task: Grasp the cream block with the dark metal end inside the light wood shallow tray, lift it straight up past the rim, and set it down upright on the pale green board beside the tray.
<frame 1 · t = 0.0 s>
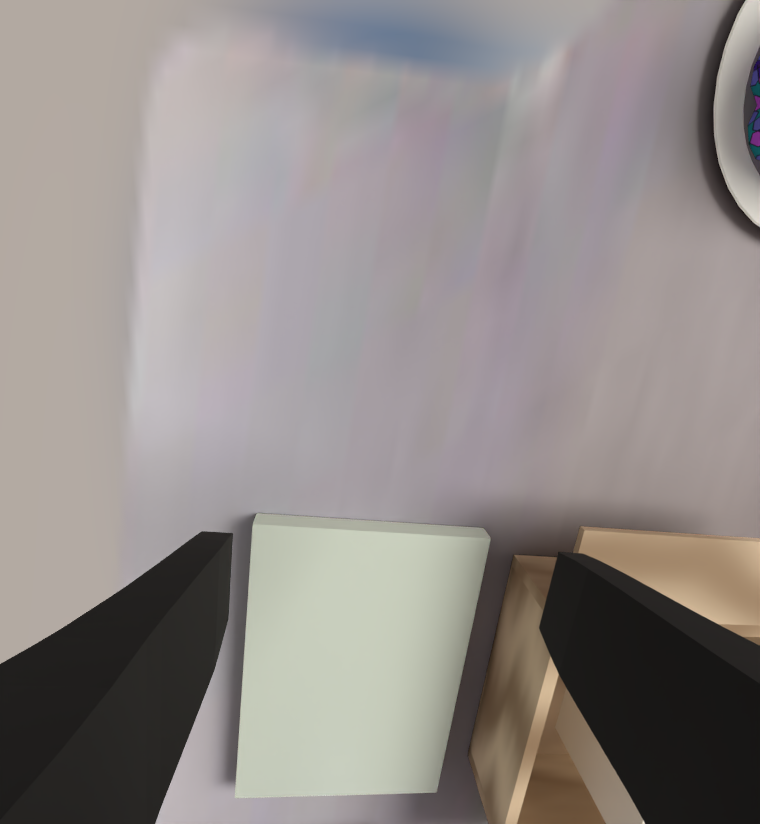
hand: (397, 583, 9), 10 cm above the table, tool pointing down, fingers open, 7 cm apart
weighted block: (604, 670, 23), resting on light wood shallow tray
light wood shallow tray: (598, 663, 23), on the table
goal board: (355, 658, 21), on the table
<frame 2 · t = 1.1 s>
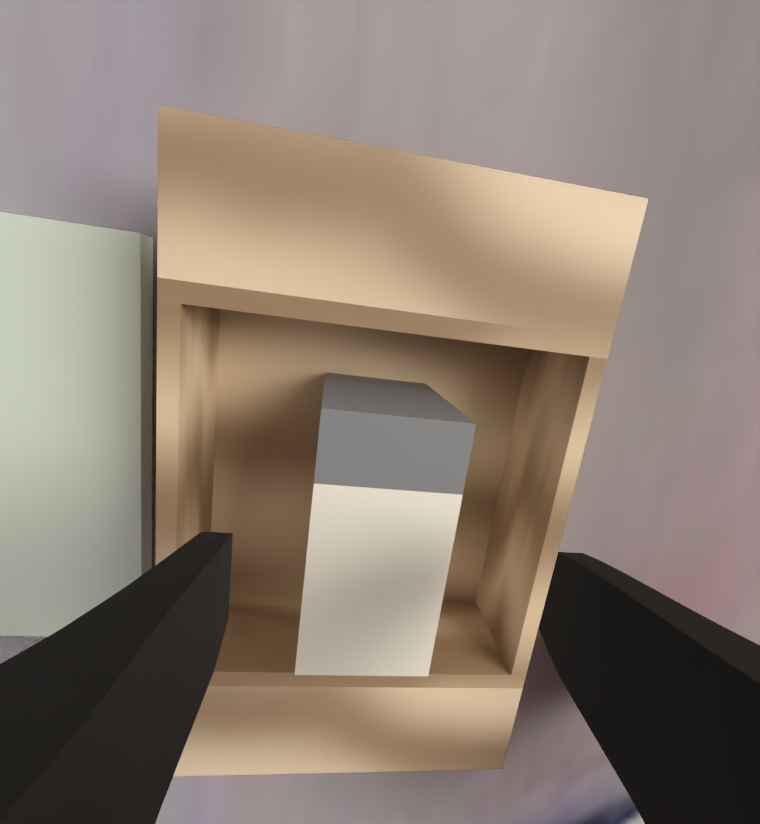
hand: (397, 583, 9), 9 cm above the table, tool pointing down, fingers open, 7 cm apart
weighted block: (364, 472, 17), resting on light wood shallow tray
light wood shallow tray: (363, 468, 18), on the table
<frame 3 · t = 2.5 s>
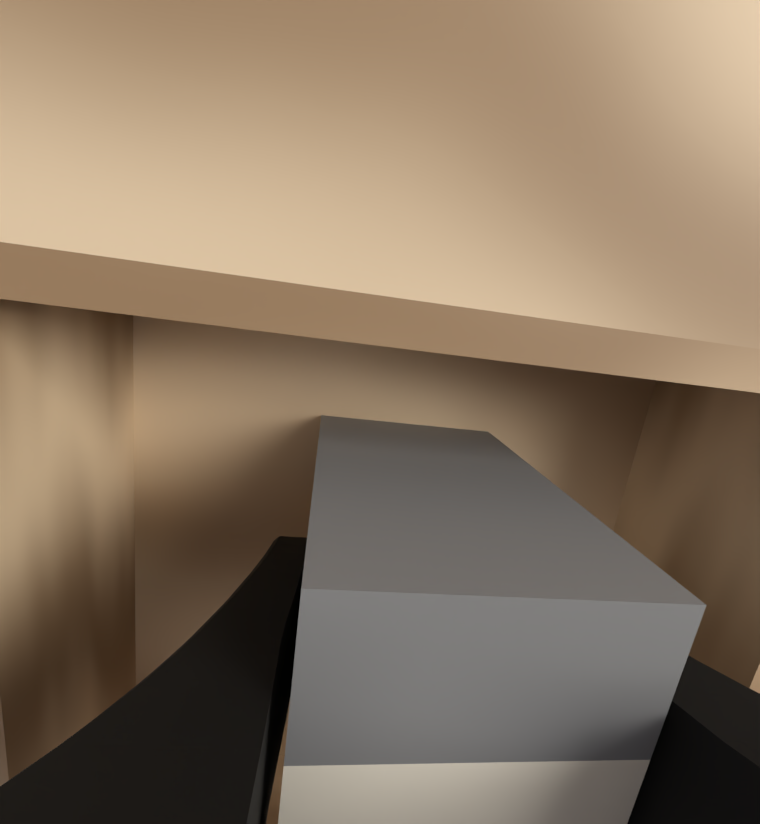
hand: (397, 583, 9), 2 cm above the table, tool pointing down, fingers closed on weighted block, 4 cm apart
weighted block: (384, 573, 11), resting on light wood shallow tray, touching gripper
light wood shallow tray: (382, 561, 11), on the table
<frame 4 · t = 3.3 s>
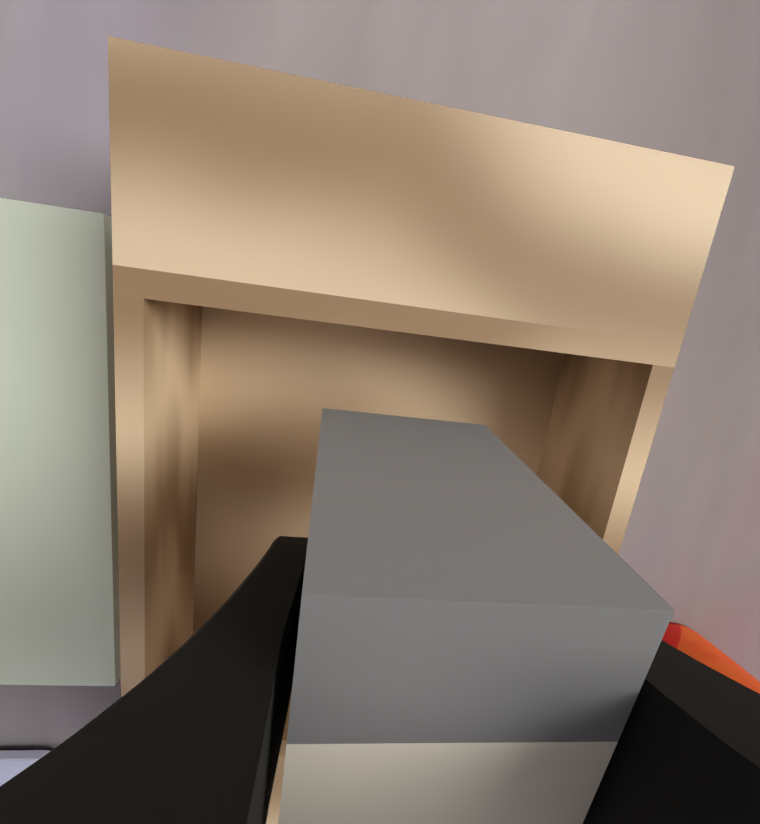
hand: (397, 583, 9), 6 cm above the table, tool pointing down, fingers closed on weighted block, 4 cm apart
paper cup: (645, 668, 19), on the table
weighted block: (382, 557, 11), point 4 cm above the table, touching gripper
light wood shallow tray: (370, 490, 15), on the table
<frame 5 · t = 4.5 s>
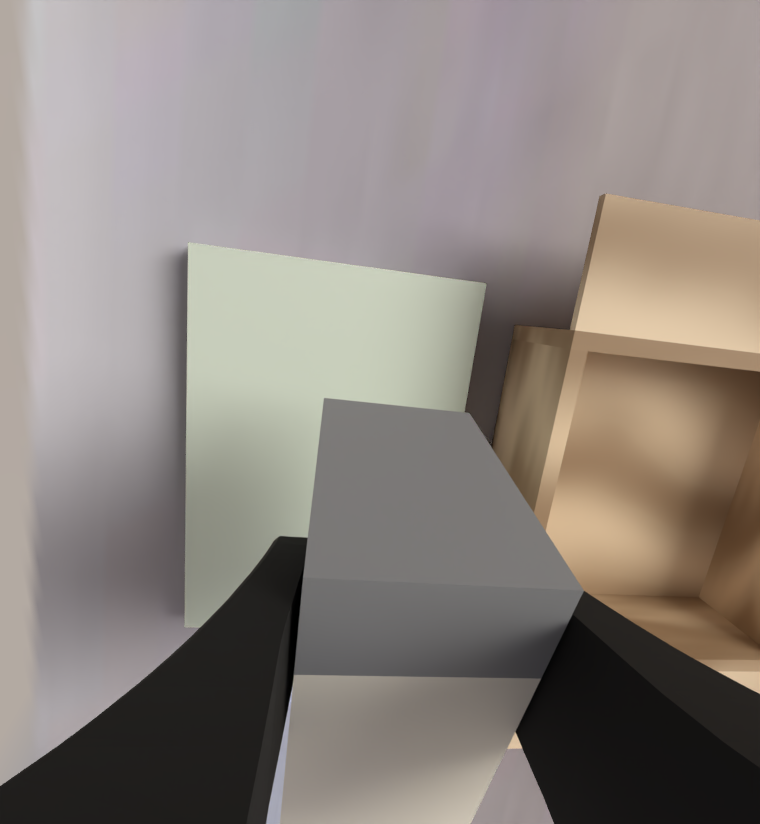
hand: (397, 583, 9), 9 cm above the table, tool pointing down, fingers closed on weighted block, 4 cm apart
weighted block: (377, 522, 13), point 6 cm above the table, tilted 11°, touching gripper
light wood shallow tray: (617, 479, 20), on the table
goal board: (326, 458, 18), on the table
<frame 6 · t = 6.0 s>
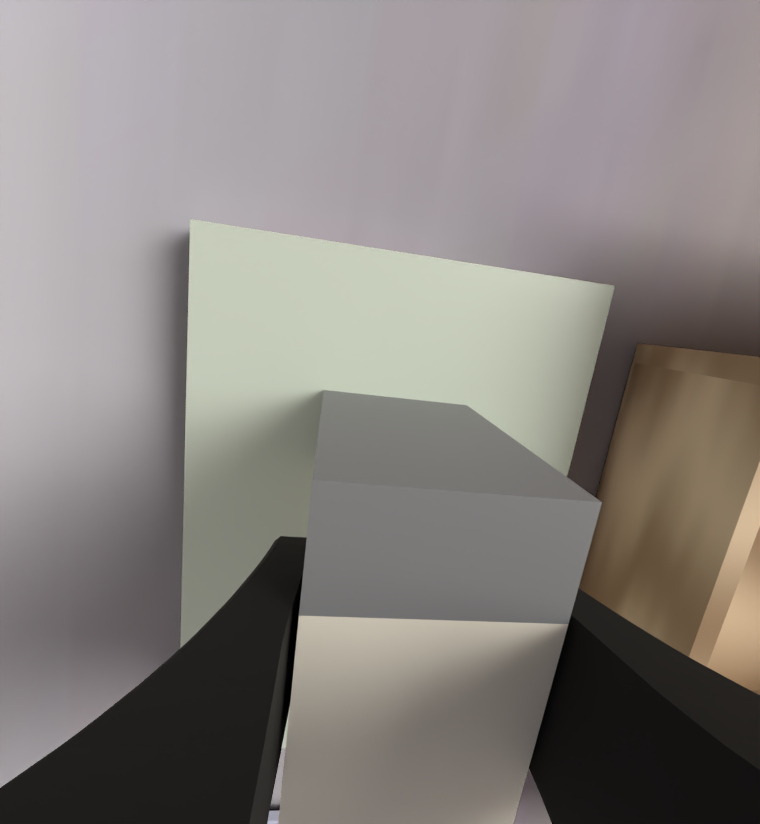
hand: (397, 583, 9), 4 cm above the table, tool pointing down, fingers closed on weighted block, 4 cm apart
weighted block: (378, 529, 12), point 1 cm above the table, touching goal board, gripper
light wood shallow tray: (750, 545, 15), on the table
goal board: (374, 521, 13), on the table
when the fingers open (4 cm above the table, at t = 6.1 s): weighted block stays where it is, resting on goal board.
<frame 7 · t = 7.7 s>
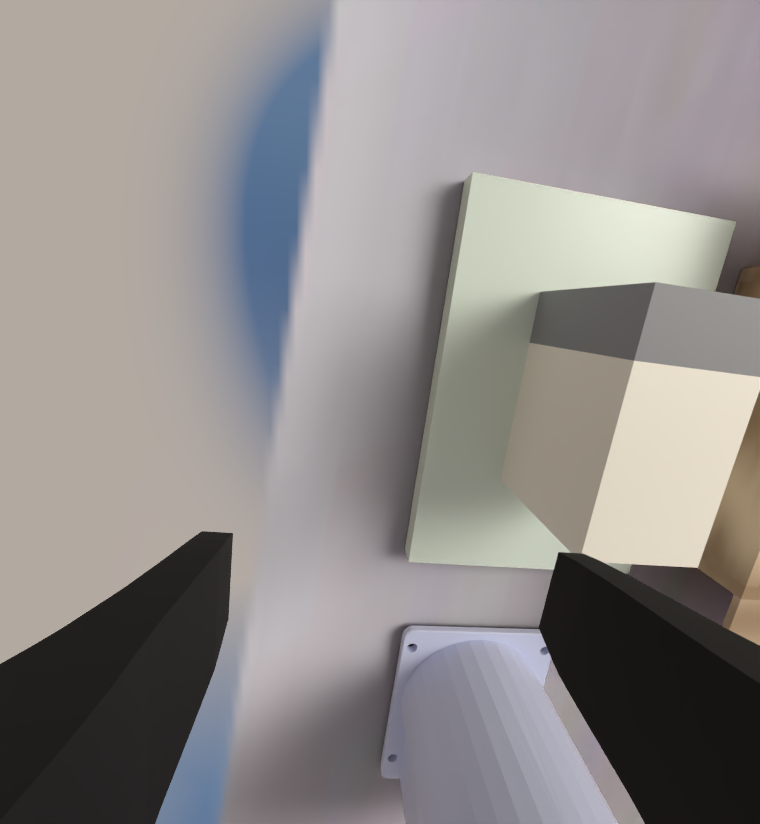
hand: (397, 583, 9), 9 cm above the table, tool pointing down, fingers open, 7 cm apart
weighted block: (563, 395, 17), point 1 cm above the table, touching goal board
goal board: (550, 397, 18), on the table
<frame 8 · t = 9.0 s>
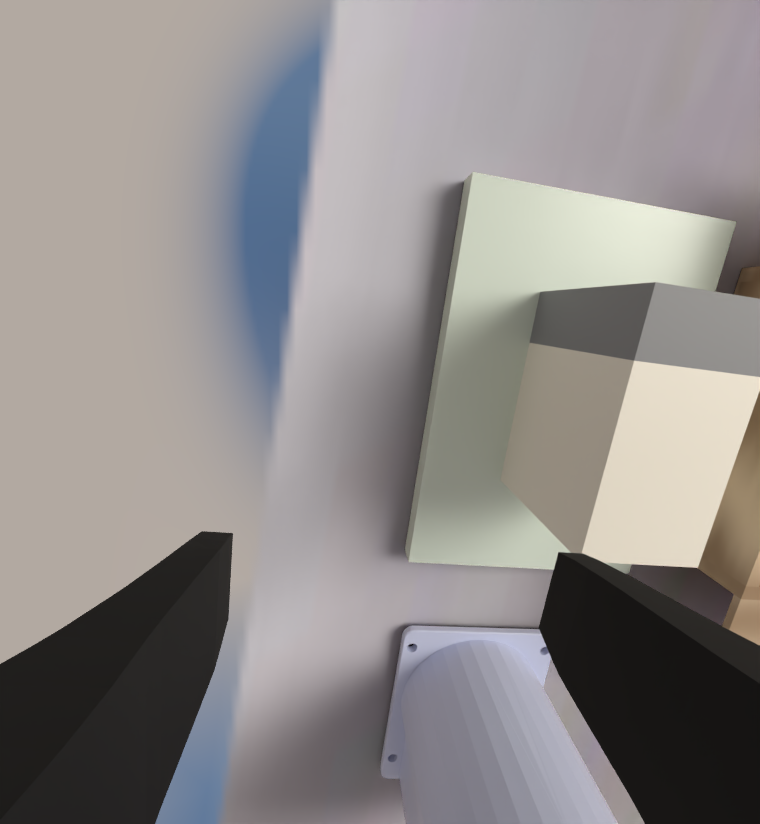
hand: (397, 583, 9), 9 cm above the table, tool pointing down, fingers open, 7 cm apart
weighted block: (563, 395, 17), point 1 cm above the table, touching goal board
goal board: (550, 397, 18), on the table
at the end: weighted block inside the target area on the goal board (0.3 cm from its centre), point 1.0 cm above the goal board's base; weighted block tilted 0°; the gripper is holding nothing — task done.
